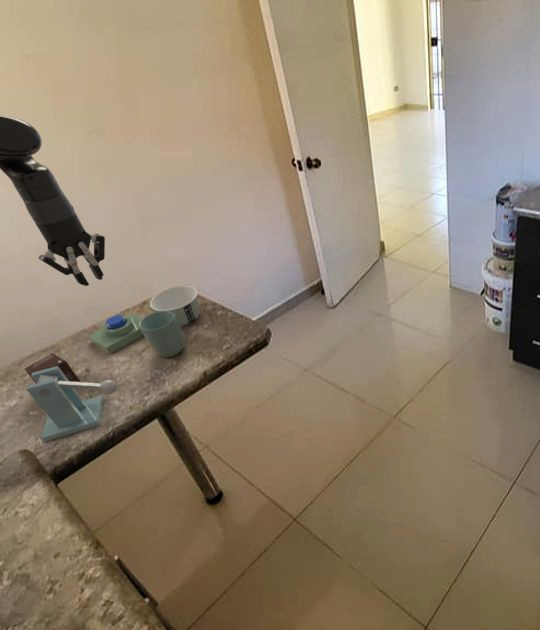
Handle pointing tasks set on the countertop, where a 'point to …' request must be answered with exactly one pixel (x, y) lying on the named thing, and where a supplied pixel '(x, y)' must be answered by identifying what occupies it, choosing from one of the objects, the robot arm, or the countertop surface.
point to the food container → (178, 303)
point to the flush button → (116, 322)
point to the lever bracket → (63, 406)
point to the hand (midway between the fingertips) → (92, 281)
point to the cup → (163, 333)
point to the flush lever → (84, 384)
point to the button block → (117, 334)
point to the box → (52, 362)
